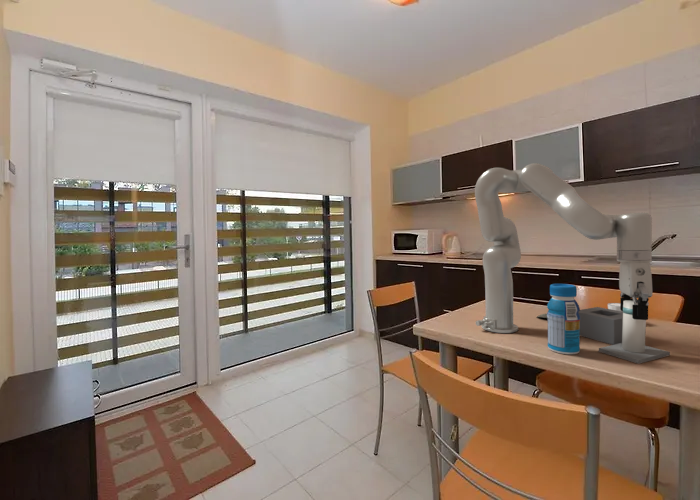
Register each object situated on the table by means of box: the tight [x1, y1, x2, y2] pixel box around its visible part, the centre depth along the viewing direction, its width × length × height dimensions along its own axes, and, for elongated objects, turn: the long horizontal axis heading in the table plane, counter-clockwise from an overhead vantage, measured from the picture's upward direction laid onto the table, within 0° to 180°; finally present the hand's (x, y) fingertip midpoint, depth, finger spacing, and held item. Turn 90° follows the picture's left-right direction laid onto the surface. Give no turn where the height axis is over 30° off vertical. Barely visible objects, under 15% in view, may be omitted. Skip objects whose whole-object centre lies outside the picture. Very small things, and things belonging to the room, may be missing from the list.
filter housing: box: [578, 306, 623, 345], centre depth 108 cm, size 13×13×8 cm
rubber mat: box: [598, 343, 671, 364], centre depth 93 cm, size 14×10×1 cm
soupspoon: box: [536, 313, 548, 319], centre depth 124 cm, size 22×3×7 cm
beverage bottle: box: [546, 283, 581, 355], centre depth 97 cm, size 8×8×20 cm
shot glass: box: [607, 302, 623, 312], centre depth 122 cm, size 7×7×7 cm
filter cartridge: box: [622, 300, 647, 353], centre depth 92 cm, size 5×5×14 cm
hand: (633, 315), depth 92 cm, fingers open, 9 cm apart
